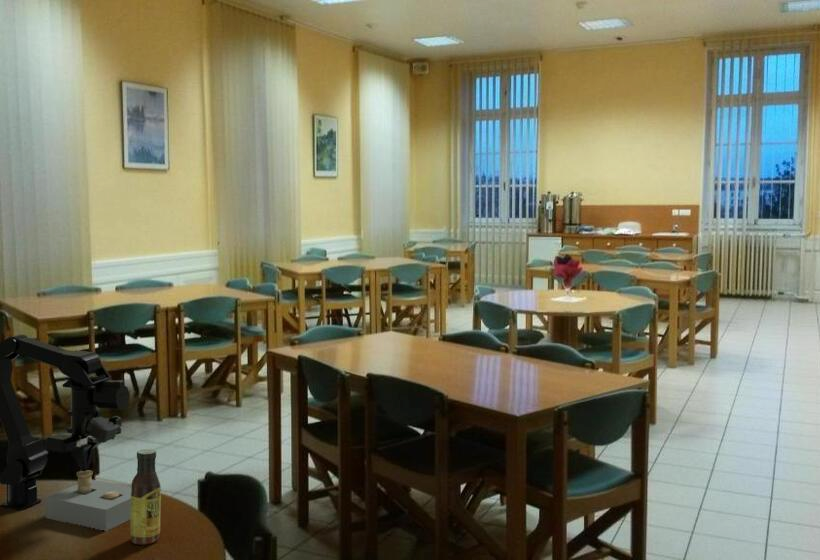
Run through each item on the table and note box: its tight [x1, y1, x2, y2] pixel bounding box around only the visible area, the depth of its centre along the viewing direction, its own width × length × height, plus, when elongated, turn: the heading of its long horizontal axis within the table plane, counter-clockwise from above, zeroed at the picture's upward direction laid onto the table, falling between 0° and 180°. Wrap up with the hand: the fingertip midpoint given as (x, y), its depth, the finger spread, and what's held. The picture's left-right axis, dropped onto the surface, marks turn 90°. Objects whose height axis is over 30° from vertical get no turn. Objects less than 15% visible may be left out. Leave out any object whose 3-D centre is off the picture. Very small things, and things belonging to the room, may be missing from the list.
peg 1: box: [76, 469, 94, 495], centre depth 187 cm, size 4×4×6 cm
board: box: [45, 479, 132, 532], centre depth 186 cm, size 18×14×5 cm
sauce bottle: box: [129, 448, 162, 546], centre depth 171 cm, size 6×6×20 cm
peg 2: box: [103, 492, 119, 500], centre depth 184 cm, size 4×4×6 cm
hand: (84, 470), depth 187 cm, fingers closed
